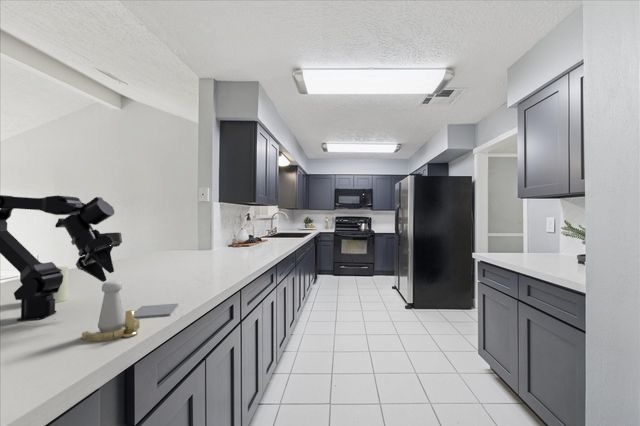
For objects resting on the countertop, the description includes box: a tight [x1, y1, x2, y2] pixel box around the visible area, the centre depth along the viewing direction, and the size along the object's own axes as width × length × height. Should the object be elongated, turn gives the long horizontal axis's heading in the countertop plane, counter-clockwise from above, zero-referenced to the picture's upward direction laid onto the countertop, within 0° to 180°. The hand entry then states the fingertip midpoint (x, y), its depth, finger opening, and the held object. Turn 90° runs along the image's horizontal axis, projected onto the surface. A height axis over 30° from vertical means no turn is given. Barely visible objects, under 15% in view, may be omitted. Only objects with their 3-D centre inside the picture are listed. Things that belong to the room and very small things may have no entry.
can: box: [52, 266, 69, 304], centre depth 103 cm, size 9×9×12 cm
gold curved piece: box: [81, 309, 140, 343], centre depth 73 cm, size 10×12×6 cm
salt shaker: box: [97, 280, 125, 333], centre depth 75 cm, size 6×6×13 cm
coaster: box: [134, 302, 179, 319], centre depth 90 cm, size 11×11×1 cm
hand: (108, 276), depth 87 cm, fingers open, 9 cm apart
